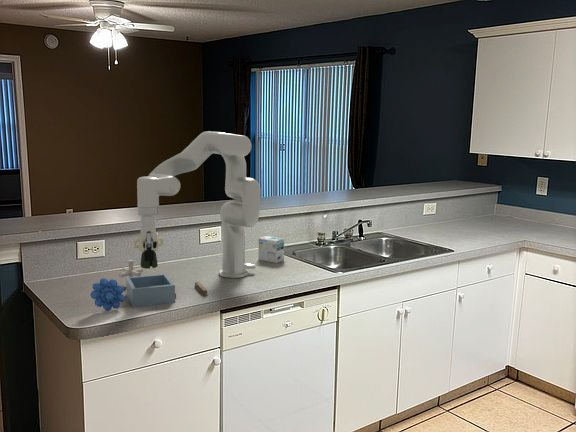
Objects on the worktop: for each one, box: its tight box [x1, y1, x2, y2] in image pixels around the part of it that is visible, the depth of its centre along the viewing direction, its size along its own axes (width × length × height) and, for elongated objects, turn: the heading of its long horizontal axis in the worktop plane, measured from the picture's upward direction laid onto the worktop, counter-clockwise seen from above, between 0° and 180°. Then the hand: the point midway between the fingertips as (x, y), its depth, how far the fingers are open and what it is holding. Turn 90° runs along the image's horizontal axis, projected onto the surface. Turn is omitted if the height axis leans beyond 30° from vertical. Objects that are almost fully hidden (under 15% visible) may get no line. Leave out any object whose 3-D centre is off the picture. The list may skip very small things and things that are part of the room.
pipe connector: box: [118, 259, 144, 278], centre depth 230 cm, size 10×10×10 cm
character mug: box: [133, 231, 164, 270], centre depth 212 cm, size 11×7×13 cm, turn 118°
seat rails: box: [175, 280, 208, 300], centre depth 223 cm, size 14×12×2 cm
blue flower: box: [90, 277, 126, 312], centre depth 200 cm, size 12×7×12 cm, turn 119°
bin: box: [125, 273, 176, 308], centre depth 215 cm, size 15×15×7 cm
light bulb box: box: [257, 235, 285, 264], centre depth 272 cm, size 11×7×11 cm, turn 58°
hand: (149, 257), depth 213 cm, fingers closed on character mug, 7 cm apart
